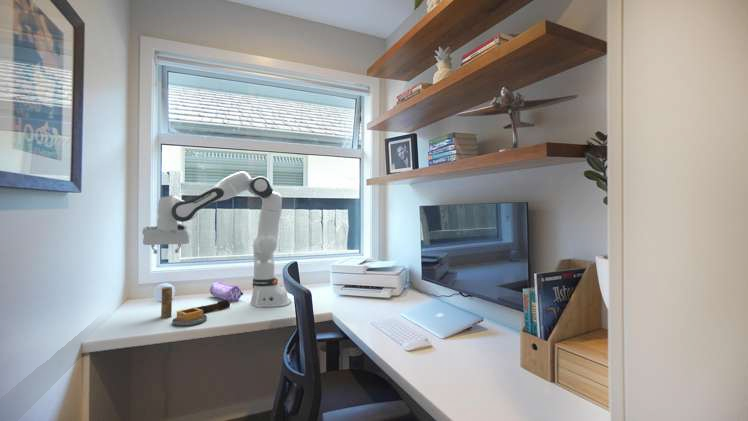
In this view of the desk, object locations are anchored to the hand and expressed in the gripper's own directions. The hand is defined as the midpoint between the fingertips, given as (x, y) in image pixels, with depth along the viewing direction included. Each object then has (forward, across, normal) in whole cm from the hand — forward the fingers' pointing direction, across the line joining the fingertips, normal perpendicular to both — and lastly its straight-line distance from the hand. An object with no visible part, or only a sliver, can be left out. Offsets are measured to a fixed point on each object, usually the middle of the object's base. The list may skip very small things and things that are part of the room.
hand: (166, 253), depth 169 cm
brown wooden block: (+30, 0, -13) cm, 32 cm away
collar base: (+30, +8, -27) cm, 41 cm away
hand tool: (+30, +20, -14) cm, 38 cm away
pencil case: (+30, +31, +8) cm, 43 cm away
